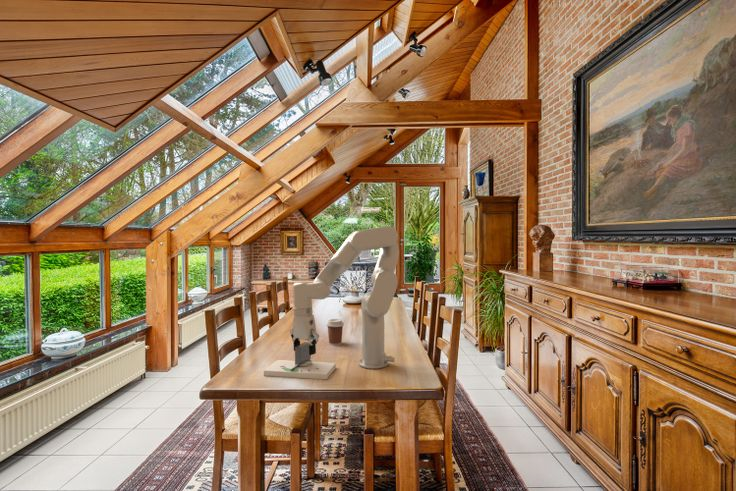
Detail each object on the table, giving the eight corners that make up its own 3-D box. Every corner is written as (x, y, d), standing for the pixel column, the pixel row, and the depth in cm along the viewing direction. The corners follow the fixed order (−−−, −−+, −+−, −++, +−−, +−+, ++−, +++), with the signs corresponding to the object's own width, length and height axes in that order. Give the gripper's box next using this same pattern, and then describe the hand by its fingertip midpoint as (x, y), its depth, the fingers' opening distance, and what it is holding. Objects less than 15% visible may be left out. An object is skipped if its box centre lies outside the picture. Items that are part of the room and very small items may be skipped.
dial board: (335, 367, 171) (335, 362, 171) (326, 379, 157) (326, 373, 157) (277, 364, 176) (277, 359, 176) (263, 375, 162) (263, 370, 162)
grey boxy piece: (300, 360, 174) (300, 341, 174) (314, 361, 172) (314, 343, 172) (283, 370, 162) (283, 350, 161) (299, 372, 159) (299, 351, 159)
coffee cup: (325, 345, 205) (325, 322, 204) (327, 341, 214) (326, 318, 213) (343, 345, 205) (343, 322, 204) (344, 340, 214) (344, 318, 214)
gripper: (324, 312, 166) (325, 353, 167) (296, 308, 177) (298, 346, 178) (310, 315, 160) (311, 358, 161) (282, 311, 172) (284, 351, 172)
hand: (304, 352), depth 169 cm, fingers open, 9 cm apart
